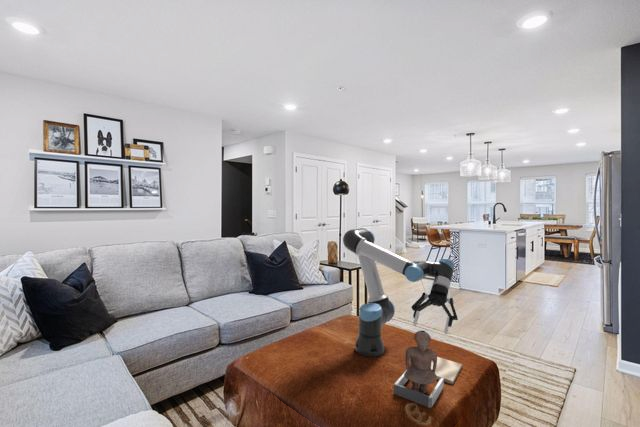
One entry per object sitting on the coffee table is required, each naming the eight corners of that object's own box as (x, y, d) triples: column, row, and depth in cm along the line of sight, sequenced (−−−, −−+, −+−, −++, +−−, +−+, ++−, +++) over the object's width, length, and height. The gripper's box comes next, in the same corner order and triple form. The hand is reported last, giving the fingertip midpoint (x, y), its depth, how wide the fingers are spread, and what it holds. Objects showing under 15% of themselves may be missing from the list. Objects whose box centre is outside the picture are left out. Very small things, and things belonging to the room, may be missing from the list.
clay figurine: (405, 396, 128) (407, 335, 127) (401, 382, 138) (403, 325, 137) (438, 398, 127) (441, 337, 126) (432, 384, 137) (434, 327, 136)
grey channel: (393, 393, 130) (394, 384, 130) (408, 375, 144) (409, 366, 144) (431, 408, 121) (431, 398, 121) (443, 387, 135) (443, 378, 135)
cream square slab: (416, 372, 147) (416, 368, 147) (428, 356, 161) (428, 354, 161) (452, 384, 137) (452, 381, 137) (462, 367, 152) (462, 364, 152)
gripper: (469, 297, 147) (460, 340, 135) (416, 287, 162) (404, 325, 150) (467, 288, 142) (458, 332, 131) (413, 279, 157) (400, 317, 146)
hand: (429, 328), depth 140 cm, fingers open, 13 cm apart
